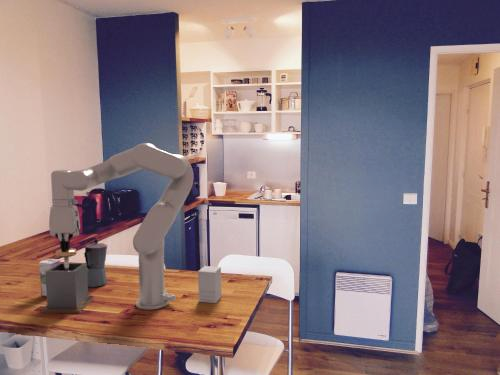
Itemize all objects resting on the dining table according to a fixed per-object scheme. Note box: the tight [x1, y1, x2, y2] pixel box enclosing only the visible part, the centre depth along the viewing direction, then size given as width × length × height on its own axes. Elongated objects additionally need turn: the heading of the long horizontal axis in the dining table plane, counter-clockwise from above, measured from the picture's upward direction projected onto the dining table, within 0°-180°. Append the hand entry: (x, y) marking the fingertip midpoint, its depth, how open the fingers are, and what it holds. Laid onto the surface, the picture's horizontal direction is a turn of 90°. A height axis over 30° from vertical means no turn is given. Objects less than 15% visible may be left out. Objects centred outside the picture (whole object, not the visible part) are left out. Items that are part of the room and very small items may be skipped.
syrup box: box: [38, 258, 61, 298], centre depth 173 cm, size 6×6×14 cm
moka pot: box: [83, 239, 108, 288], centre depth 185 cm, size 10×15×20 cm, turn 174°
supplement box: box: [197, 265, 222, 304], centre depth 168 cm, size 7×7×13 cm
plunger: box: [55, 247, 77, 271], centre depth 161 cm, size 8×8×14 cm
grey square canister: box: [40, 262, 95, 314], centre depth 162 cm, size 14×14×15 cm
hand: (65, 250), depth 160 cm, fingers closed
